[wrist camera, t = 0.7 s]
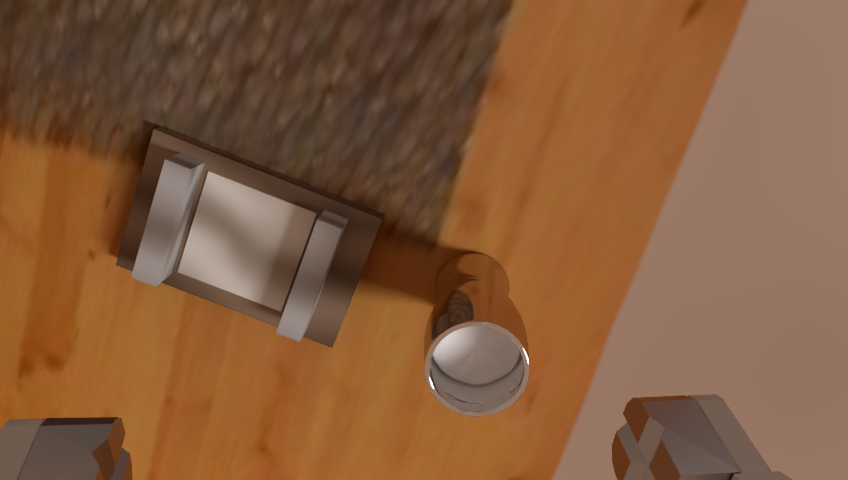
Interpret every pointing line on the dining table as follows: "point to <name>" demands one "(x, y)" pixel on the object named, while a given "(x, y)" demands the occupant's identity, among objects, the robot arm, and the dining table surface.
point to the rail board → (246, 237)
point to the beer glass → (475, 339)
